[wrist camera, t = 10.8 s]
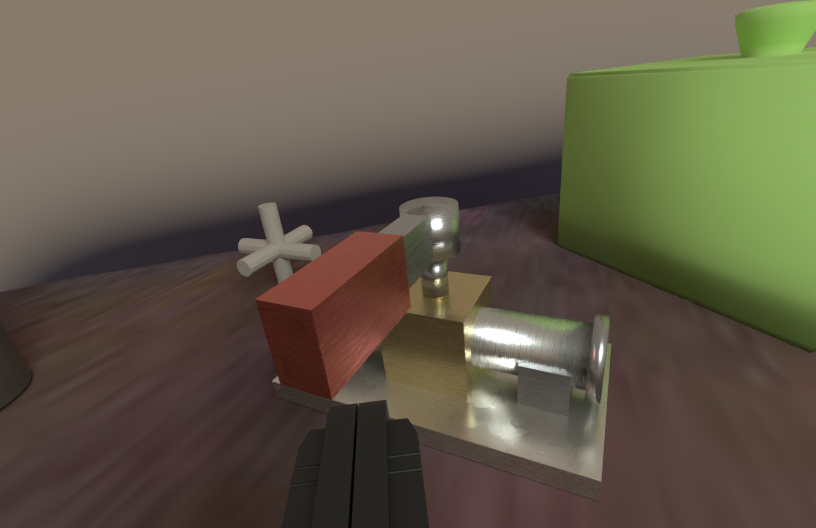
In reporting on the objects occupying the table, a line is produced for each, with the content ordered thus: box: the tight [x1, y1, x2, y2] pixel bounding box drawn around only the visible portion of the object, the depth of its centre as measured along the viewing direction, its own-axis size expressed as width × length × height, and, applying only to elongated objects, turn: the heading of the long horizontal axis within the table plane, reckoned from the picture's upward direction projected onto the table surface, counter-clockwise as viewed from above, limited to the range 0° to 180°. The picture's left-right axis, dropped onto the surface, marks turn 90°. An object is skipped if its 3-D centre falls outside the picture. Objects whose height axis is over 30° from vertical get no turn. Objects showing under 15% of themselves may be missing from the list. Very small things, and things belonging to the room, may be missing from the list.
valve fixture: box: [272, 260, 611, 501], centre depth 29 cm, size 22×12×10 cm, turn 64°
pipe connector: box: [237, 203, 321, 284], centre depth 45 cm, size 10×10×10 cm
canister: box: [557, 0, 816, 353], centre depth 39 cm, size 25×21×23 cm
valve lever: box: [255, 197, 460, 400], centre depth 21 cm, size 15×4×4 cm, turn 154°
